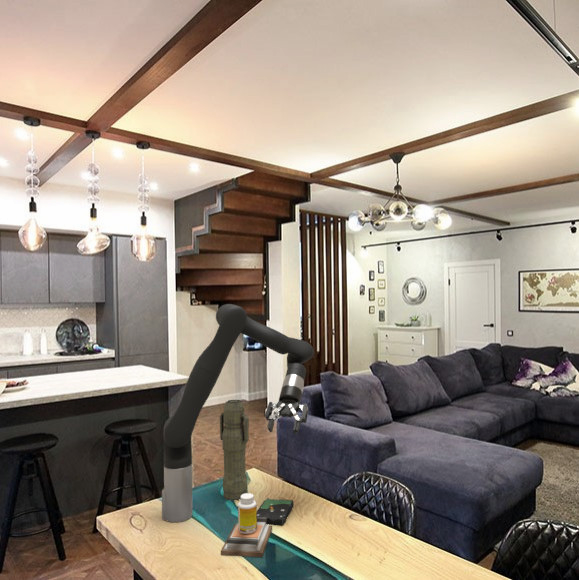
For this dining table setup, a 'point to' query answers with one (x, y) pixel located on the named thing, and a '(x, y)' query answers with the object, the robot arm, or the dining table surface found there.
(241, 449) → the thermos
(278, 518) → the disk drive
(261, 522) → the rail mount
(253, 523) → the supplement bottle
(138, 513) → the dining table surface
